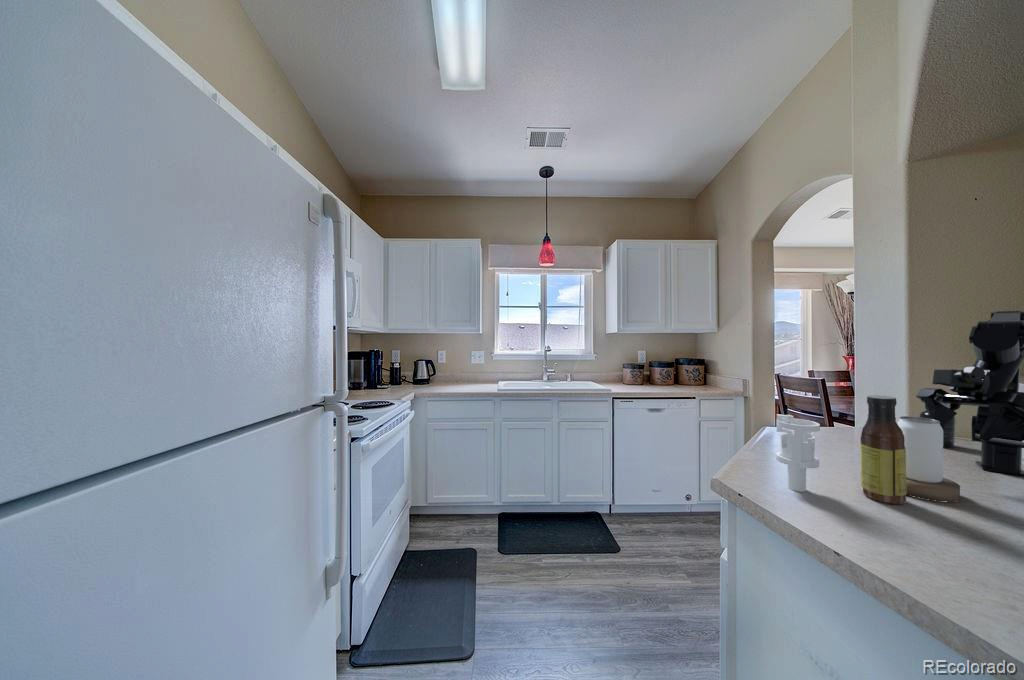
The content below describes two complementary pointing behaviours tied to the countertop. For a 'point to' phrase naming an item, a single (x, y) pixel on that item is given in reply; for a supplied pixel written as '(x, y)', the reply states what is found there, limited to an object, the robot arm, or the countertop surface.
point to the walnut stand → (934, 490)
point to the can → (923, 449)
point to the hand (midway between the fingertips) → (955, 436)
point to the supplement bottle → (944, 429)
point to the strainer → (797, 449)
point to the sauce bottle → (883, 453)
